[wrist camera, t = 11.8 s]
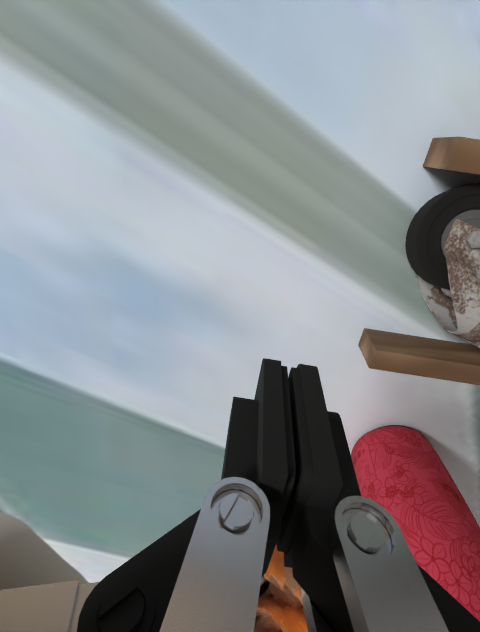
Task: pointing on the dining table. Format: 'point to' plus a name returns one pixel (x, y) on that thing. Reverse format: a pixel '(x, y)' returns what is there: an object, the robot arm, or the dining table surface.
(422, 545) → the wine bottle
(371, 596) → the robot arm
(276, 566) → the pumpkin
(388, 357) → the brown wooden frame
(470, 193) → the caster wheel
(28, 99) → the dining table surface
